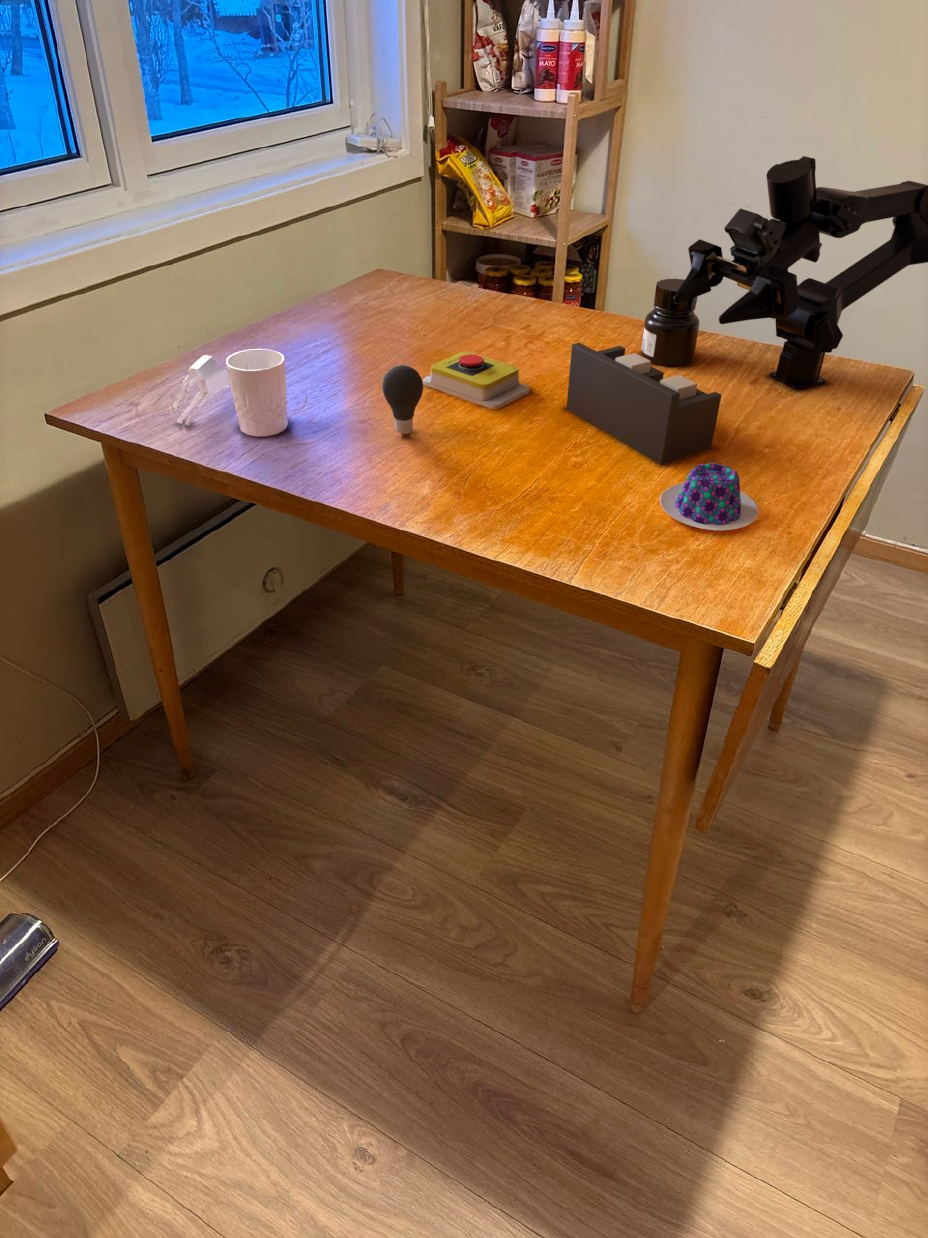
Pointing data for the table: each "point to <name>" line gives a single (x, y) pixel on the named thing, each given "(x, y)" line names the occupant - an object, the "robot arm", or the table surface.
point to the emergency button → (477, 380)
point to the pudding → (710, 499)
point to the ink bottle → (670, 327)
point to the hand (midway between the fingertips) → (696, 310)
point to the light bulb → (403, 395)
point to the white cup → (259, 391)
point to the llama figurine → (202, 384)
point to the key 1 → (635, 362)
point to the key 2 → (681, 386)
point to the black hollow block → (638, 406)
